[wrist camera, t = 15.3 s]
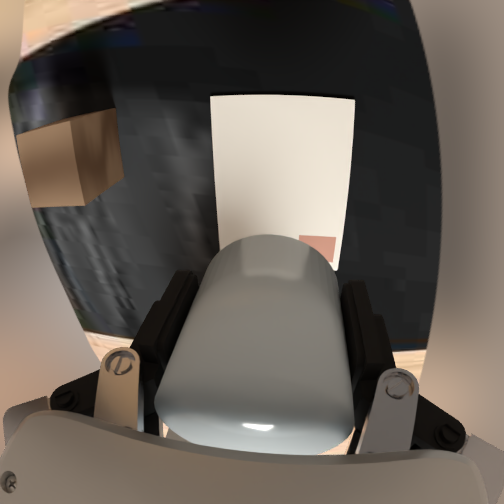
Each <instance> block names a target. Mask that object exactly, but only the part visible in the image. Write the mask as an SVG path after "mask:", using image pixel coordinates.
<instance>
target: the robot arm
mask: <svg viewBox="0 0 504 504" xmlns="http://www.w3.org/2000/svg"><path fill="white" fill-rule="evenodd" d="M198 289H199V287H198V280H197V276H196V275H193V273H192V271H184V270H177V271H176V273H175V274H174V276H173V278H172V280H171V282H170V283H169V285H168V287H167V289H166V291H165V292H164V294H163V296H162V298H161V300H160V301H155V302H154V304H153V305H152V307H151V309H150V311H149V313H148V314H147V316H146V318H145V320H144V322H143V324H142V325H141V327H140V329H139V331H138V333H137V335H136V337H135V339H134V340H133V342H132V344H131V346H130V348H128V347H120V348H115V349H113V350H111V351H109V352H108V353H107V354H106V355H105V356H104V358H103V359H102V362H101V366H100V369H99V370H97V371H95V372H93V373H90V374H88V375H86V376H83V377H81V378H78V379H76V380H74V381H71V382H69V383H67V384H64V385H62V386H60V387H58V388H57V389H56V390H55V391H54V392H53V394H52V395H51V397H50V398H48V397H47V396H44V397H41V398H38V399H35V400H32V401H29V402H26V403H22V404H19V405H16V406H13V407H11V408H9V409H8V410H7V411H6V412H5V415H4V417H3V427H4V437H5V445H6V447H5V449H4V451H3V454H2V455H1V457H0V504H496V503H497V501H498V498H499V496H500V494H501V492H502V489H503V487H504V451H502V450H500V449H498V448H496V447H494V446H493V445H491V444H489V443H487V442H485V441H484V440H482V439H480V438H478V437H477V436H475V435H473V434H471V435H470V436H468V435H467V434H466V432H465V428H464V427H463V425H462V424H461V423H460V422H459V421H458V420H456V419H455V418H454V417H452V416H451V415H449V414H448V413H446V412H444V411H443V410H442V409H440V408H439V407H437V406H436V405H434V404H433V403H431V402H430V401H428V400H427V399H425V398H424V397H423V396H421V395H420V394H419V384H418V381H417V379H416V378H415V377H414V375H413V374H412V373H410V372H409V371H407V370H404V369H401V368H396V366H395V361H394V357H393V353H392V349H391V345H390V341H389V338H388V334H387V330H386V326H385V323H384V319H383V317H382V315H381V314H373V311H372V308H371V304H370V300H369V296H368V293H367V289H366V286H365V282H364V281H363V280H349V282H348V283H344V284H343V288H342V293H341V298H340V301H341V307H342V314H343V320H344V327H345V335H346V342H347V350H348V358H349V367H350V376H351V385H352V395H353V407H354V419H355V423H354V428H353V431H352V434H351V437H350V440H349V443H348V446H347V449H346V451H345V454H344V455H289V454H272V453H259V452H249V451H239V450H231V449H224V448H217V447H211V446H205V445H199V444H193V443H188V442H183V441H178V440H173V439H169V438H164V437H163V421H162V420H161V419H160V417H159V416H158V414H157V412H156V409H155V405H154V400H155V396H156V393H157V391H158V388H159V385H160V383H161V380H162V378H163V375H164V373H165V370H166V367H167V365H168V362H169V360H170V357H171V355H172V352H173V350H174V347H175V345H176V342H177V340H178V337H179V335H180V333H181V330H182V328H183V325H184V323H185V320H186V318H187V315H188V313H189V311H190V308H191V306H192V303H193V301H194V299H195V296H196V294H197V292H198Z"/></svg>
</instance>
